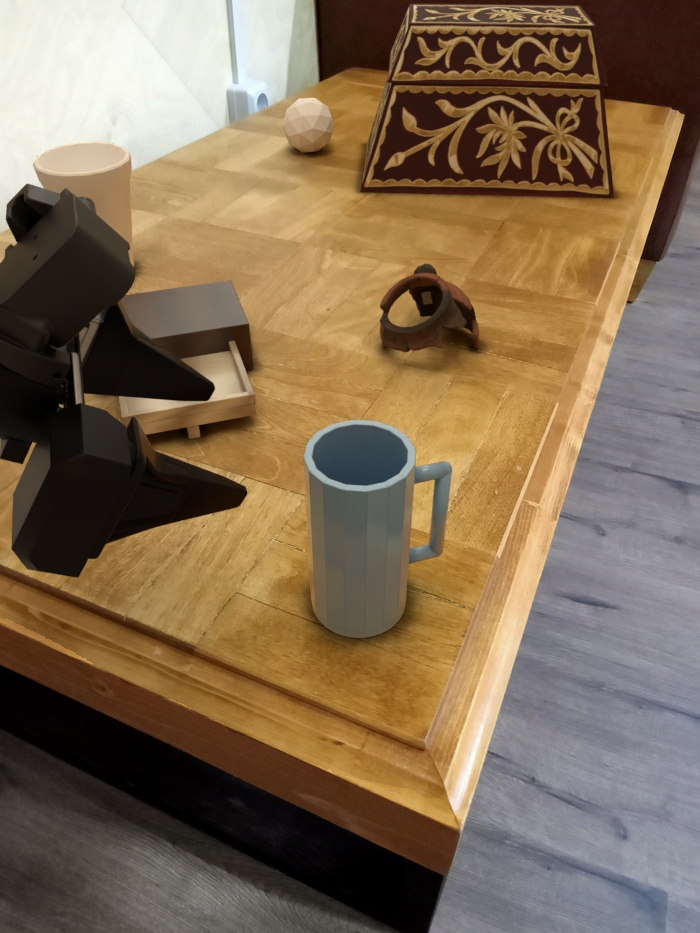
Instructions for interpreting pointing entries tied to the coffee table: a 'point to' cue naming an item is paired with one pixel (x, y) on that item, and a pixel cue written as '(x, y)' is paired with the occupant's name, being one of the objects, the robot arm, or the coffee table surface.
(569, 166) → the decorative box
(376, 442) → the tall blue mug
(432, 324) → the brown hollow shell
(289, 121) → the geometric ball
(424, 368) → the coffee table surface
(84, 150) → the cup
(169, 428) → the walnut box
